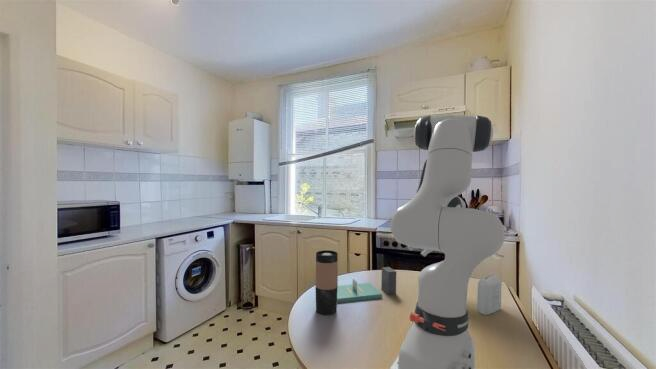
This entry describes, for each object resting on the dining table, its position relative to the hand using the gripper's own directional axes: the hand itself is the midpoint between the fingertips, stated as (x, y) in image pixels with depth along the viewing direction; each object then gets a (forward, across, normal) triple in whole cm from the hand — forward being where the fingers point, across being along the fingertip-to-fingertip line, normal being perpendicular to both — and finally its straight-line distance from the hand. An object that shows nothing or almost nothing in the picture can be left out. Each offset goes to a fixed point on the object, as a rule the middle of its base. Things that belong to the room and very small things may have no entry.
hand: (415, 252), depth 118 cm
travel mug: (+40, +10, -18) cm, 45 cm away
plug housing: (+20, 0, +2) cm, 20 cm away
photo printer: (+1, +24, +21) cm, 32 cm away
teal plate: (+30, -1, -8) cm, 31 cm away
